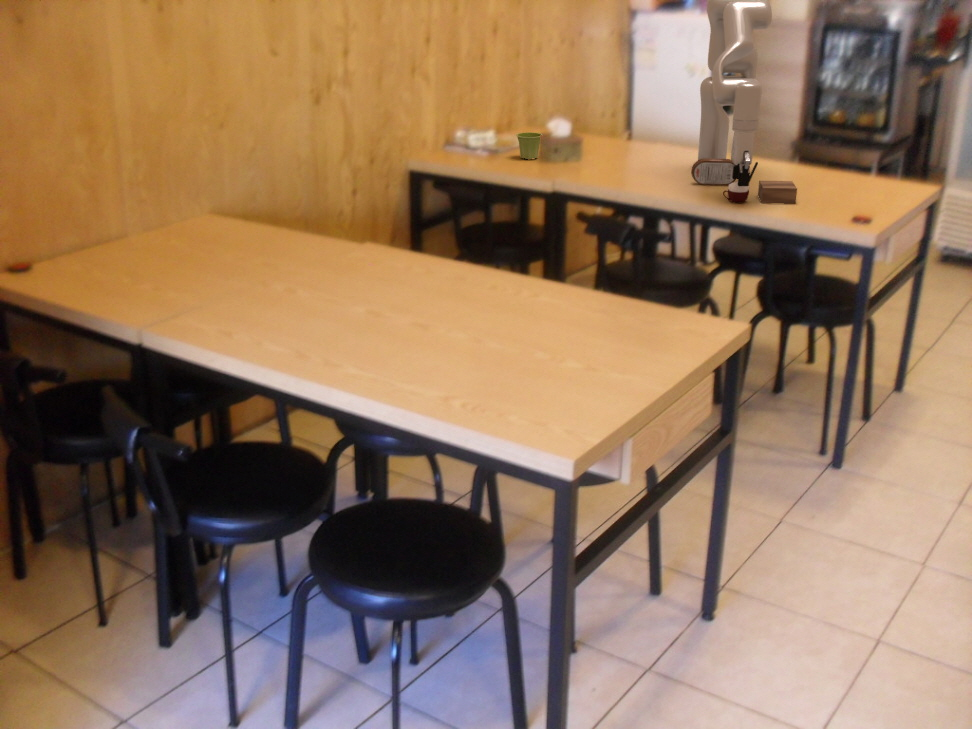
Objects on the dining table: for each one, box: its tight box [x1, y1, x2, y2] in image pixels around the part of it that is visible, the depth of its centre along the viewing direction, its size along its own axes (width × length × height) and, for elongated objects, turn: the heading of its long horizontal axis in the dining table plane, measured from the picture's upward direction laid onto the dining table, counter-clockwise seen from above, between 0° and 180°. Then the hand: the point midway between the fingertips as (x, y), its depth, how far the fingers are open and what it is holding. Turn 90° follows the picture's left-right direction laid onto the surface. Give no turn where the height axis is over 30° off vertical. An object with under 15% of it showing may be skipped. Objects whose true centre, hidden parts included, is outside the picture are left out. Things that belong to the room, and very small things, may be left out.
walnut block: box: [757, 180, 798, 205], centre depth 317 cm, size 10×10×5 cm
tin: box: [690, 158, 737, 186], centre depth 335 cm, size 15×3×8 cm, turn 84°
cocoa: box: [722, 161, 759, 204], centre depth 313 cm, size 10×6×12 cm, turn 62°
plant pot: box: [516, 131, 543, 160], centre depth 375 cm, size 9×9×9 cm
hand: (740, 182), depth 313 cm, fingers open, 9 cm apart
